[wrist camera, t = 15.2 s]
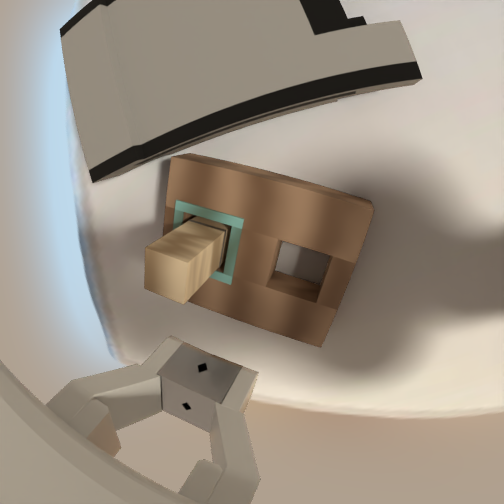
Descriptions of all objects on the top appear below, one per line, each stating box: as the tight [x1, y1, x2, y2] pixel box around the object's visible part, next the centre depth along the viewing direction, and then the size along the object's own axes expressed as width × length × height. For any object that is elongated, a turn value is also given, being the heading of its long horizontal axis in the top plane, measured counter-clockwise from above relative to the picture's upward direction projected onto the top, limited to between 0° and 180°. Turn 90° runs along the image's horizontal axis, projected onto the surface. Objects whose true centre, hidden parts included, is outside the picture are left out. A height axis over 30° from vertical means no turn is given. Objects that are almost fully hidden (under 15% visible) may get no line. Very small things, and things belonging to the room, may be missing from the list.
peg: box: [144, 216, 232, 305], centre depth 29 cm, size 4×4×12 cm
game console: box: [60, 0, 423, 183], centre depth 23 cm, size 21×32×8 cm, turn 108°
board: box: [163, 153, 374, 347], centre depth 32 cm, size 20×16×4 cm
